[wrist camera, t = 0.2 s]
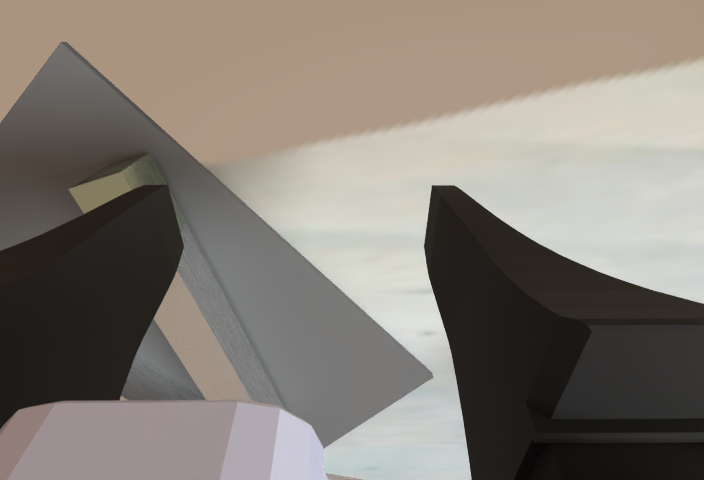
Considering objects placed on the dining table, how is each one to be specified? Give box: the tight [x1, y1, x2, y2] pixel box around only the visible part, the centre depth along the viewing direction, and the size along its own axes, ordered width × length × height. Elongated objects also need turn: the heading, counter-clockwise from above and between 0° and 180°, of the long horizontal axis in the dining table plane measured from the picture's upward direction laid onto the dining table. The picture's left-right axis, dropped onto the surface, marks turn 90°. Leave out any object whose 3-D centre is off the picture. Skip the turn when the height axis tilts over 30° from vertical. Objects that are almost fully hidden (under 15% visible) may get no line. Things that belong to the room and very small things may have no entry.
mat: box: [0, 42, 433, 449], centre depth 26 cm, size 20×27×1 cm
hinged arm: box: [68, 152, 285, 409], centre depth 24 cm, size 21×4×3 cm, turn 17°
